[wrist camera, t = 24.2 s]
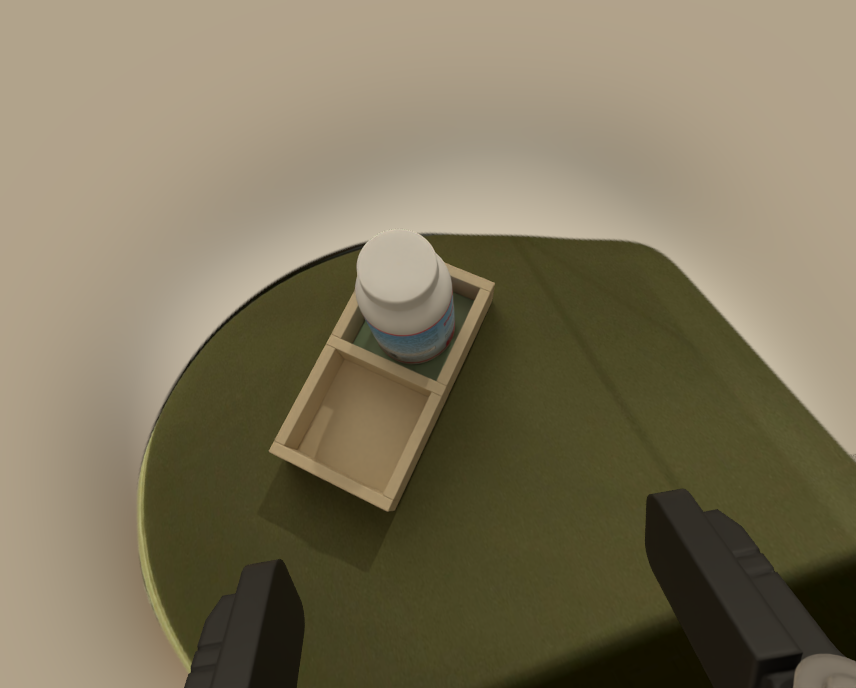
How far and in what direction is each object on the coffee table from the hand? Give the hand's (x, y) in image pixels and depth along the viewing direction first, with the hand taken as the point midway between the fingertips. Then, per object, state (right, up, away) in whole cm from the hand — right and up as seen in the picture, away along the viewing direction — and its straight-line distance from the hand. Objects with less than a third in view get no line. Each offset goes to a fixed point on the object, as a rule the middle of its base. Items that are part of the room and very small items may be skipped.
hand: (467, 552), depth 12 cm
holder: (-4, +2, +29) cm, 29 cm away
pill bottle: (-2, +6, +29) cm, 30 cm away
